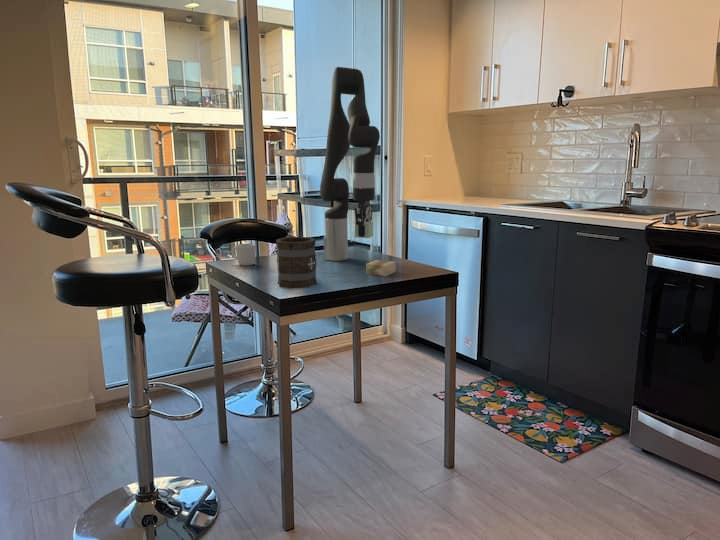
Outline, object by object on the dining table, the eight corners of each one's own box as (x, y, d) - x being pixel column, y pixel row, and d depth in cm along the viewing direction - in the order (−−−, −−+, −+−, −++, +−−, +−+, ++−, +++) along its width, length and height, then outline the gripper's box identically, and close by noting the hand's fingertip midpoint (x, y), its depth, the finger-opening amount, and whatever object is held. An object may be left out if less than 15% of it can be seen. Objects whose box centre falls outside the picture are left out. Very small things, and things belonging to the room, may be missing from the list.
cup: (226, 265, 206) (225, 245, 205) (238, 261, 214) (237, 242, 212) (249, 267, 202) (248, 247, 201) (260, 263, 210) (259, 243, 208)
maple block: (366, 274, 189) (366, 263, 189) (376, 270, 196) (376, 259, 195) (385, 276, 186) (385, 265, 185) (395, 272, 192) (395, 261, 191)
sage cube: (355, 237, 180) (354, 223, 179) (359, 235, 185) (359, 221, 184) (368, 238, 179) (368, 223, 178) (372, 235, 183) (372, 221, 182)
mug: (312, 289, 168) (311, 243, 165) (272, 288, 170) (270, 242, 167) (324, 275, 187) (322, 234, 184) (287, 274, 189) (285, 234, 186)
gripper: (359, 184, 186) (359, 231, 189) (346, 187, 172) (347, 238, 176) (380, 185, 183) (379, 232, 187) (368, 187, 170) (368, 239, 174)
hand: (364, 235), depth 182 cm, fingers closed on sage cube, 5 cm apart
